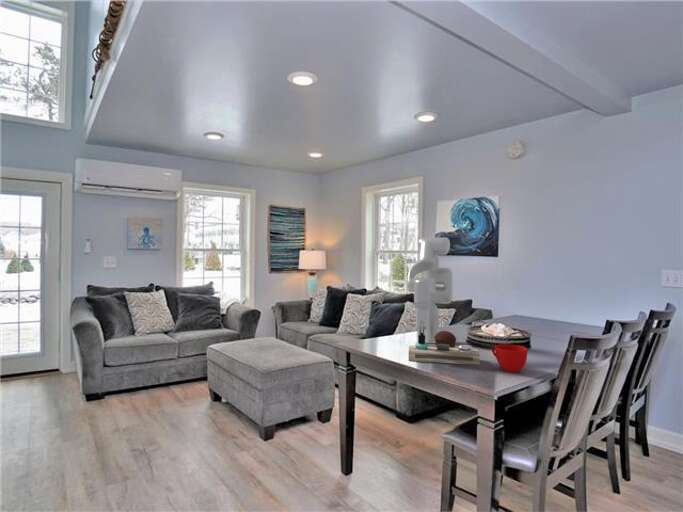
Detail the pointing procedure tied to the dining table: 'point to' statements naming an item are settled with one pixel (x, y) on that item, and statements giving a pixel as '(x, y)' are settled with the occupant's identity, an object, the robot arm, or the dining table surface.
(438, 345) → the dark gray knob
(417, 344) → the teal knob
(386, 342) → the dining table surface
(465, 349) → the steel knob
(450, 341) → the muffin
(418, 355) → the box
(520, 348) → the ceramic cup
